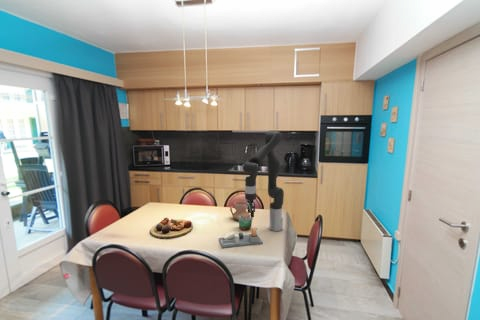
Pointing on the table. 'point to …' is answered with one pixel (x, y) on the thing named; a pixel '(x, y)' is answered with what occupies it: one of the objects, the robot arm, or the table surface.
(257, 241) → the panel
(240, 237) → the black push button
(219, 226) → the table surface
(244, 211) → the ceramic jug
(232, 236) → the cream rocker
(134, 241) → the table surface
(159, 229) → the wooden plate with food
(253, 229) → the orange plunger
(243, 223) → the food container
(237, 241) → the grey slider knob
